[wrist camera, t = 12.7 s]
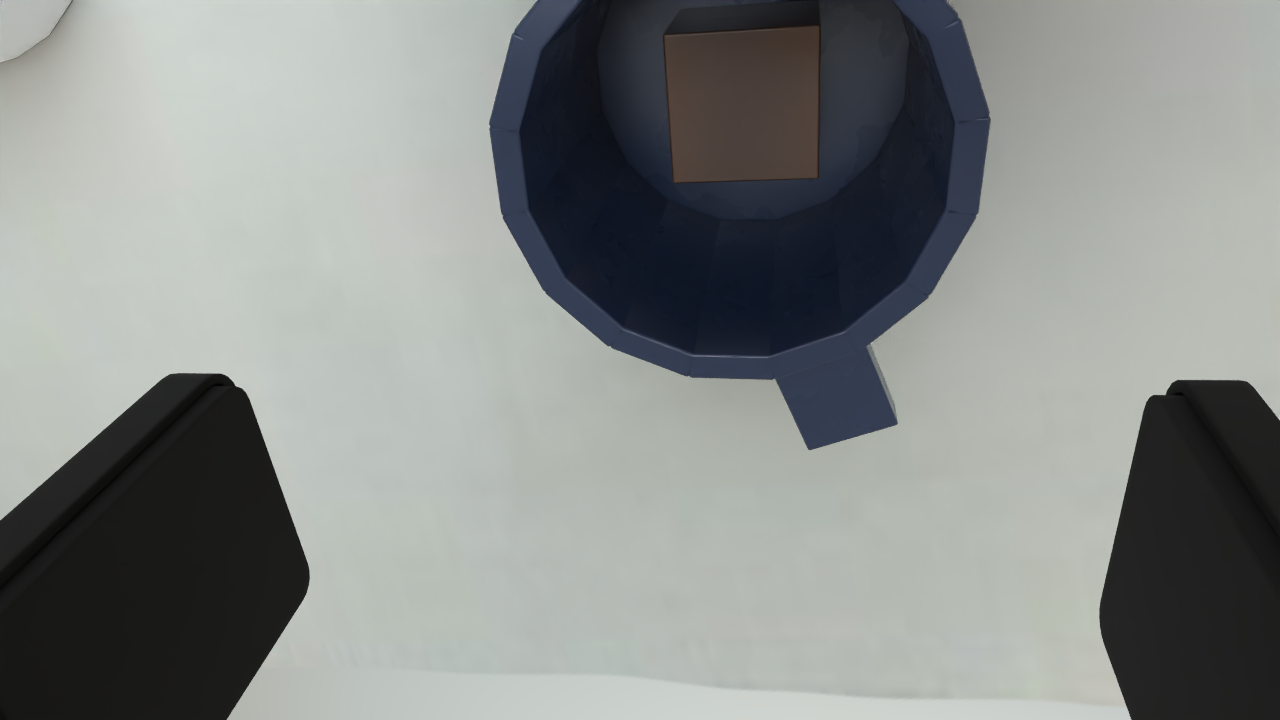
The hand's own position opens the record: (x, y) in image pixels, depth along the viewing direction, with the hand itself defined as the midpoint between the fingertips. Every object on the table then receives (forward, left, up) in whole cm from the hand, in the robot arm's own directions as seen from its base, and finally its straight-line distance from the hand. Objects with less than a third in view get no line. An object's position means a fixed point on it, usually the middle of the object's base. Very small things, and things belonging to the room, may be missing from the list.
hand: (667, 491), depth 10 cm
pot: (0, 0, -21) cm, 21 cm away
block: (0, 0, -21) cm, 21 cm away
